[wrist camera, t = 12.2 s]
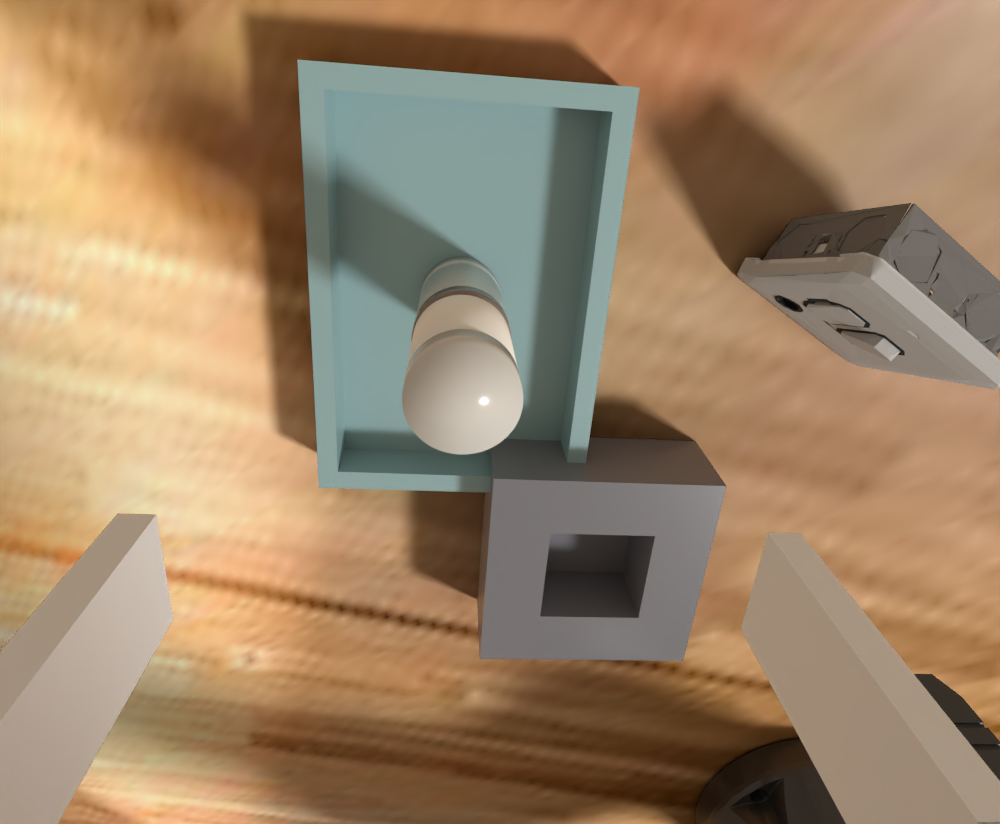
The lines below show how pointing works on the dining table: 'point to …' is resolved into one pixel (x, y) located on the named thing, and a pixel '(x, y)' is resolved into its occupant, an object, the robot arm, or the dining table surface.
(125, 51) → the dining table surface
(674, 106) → the dining table surface
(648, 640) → the fuse holder
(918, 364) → the electrical switch
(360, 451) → the parts tray
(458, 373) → the cylinder
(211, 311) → the dining table surface
